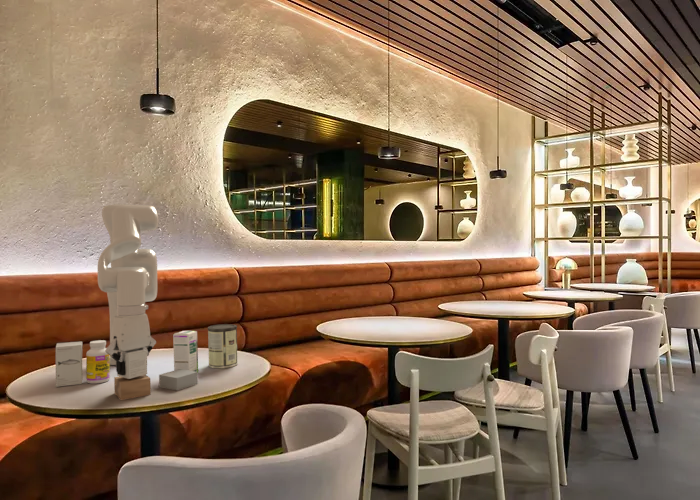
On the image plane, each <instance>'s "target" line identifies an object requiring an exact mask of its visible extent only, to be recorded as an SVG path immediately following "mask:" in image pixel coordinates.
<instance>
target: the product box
mask: <svg viewBox="0 0 700 500" xmlns="http://www.w3.org/2000/svg"><path fill="white" fill-rule="evenodd" d="M120 354H121V353H120ZM123 361H125V371H126V374H125V375H119V374H117V373H116V374H117V376H116V377H119V376H120V377H124V378H127V379H131V378H135V377H138V376H143V375H147V374H148V356H147V350H143V349H135V350H130V351H126V353H125V357H124V360H123Z"/></svg>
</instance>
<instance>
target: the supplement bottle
mask: <svg viewBox="0 0 700 500" xmlns="http://www.w3.org/2000/svg"><path fill="white" fill-rule="evenodd" d="M106 345H107V340H104V339H103V340H101V339H98V340H91V341H90V342H89V347H90V349H89V350H87V351H86V359H85V360H86V365H85V367H86V371H85V372H86V382H87V383H88V384H102V383H103V384H104V383H106V382H108V381H109V380H110V377H111V376H110V374H111V373H110V367H111V365H110V363H109V358H110V355H109V354H107V353H106V352H105V350H106V349H107V347H106Z"/></svg>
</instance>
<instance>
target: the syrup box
mask: <svg viewBox="0 0 700 500" xmlns="http://www.w3.org/2000/svg"><path fill="white" fill-rule="evenodd" d="M172 336H173V337H172V338H173V371H174V370H178V369H183V370H189V371H195V372H198V373H199V356H198V355H199V354H198V353H199V352H198V351H199V350H198V348H199V347H198V331H197V330H182V331H179V332H175V333H174V334H173V335H172Z"/></svg>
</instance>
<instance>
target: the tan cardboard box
mask: <svg viewBox="0 0 700 500" xmlns="http://www.w3.org/2000/svg"><path fill="white" fill-rule="evenodd" d="M113 379H114V380H113V382H114V387H113V388H114V395H116V397H117V398H118V399H119V400H121V401H123V400H129V399H134V398H139V397H145V396H149V395H152V394H151V390H152V389H151V387H152V386H151V377H149V376H148V375H147V374H146V375H143V376H138V377H135V378H131V379H127V378H124V377H120V376H116V377H115V376H114V378H113Z"/></svg>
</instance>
